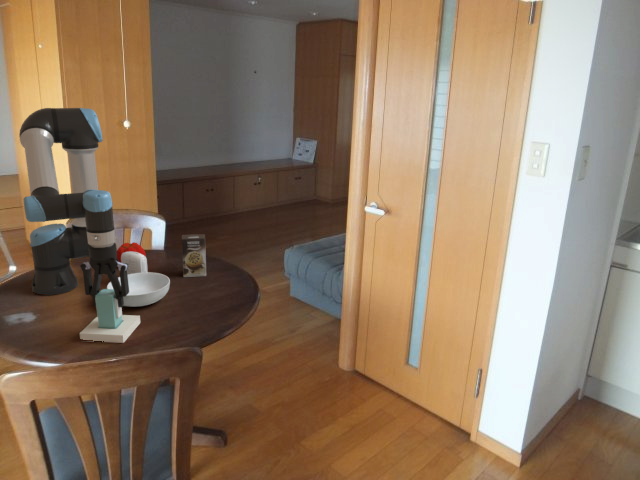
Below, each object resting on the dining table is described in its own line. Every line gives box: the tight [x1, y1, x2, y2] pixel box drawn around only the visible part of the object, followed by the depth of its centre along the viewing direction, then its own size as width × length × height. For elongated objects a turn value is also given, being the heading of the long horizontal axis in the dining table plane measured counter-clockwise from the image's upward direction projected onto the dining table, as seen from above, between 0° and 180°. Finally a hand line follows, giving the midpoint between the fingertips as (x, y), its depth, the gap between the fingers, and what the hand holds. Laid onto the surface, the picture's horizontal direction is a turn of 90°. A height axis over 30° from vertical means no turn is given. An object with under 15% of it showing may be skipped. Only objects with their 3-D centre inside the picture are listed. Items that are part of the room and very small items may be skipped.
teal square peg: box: [95, 288, 123, 329], centre depth 150 cm, size 5×5×12 cm
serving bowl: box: [106, 271, 171, 308], centre depth 174 cm, size 21×21×7 cm
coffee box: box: [181, 233, 207, 278], centre depth 198 cm, size 9×6×16 cm
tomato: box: [117, 242, 147, 263], centre depth 206 cm, size 11×12×9 cm
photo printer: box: [121, 251, 149, 275], centre depth 188 cm, size 10×4×12 cm, turn 69°
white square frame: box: [79, 314, 141, 344], centre depth 152 cm, size 13×13×2 cm
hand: (109, 315), depth 151 cm, fingers closed on teal square peg, 5 cm apart
